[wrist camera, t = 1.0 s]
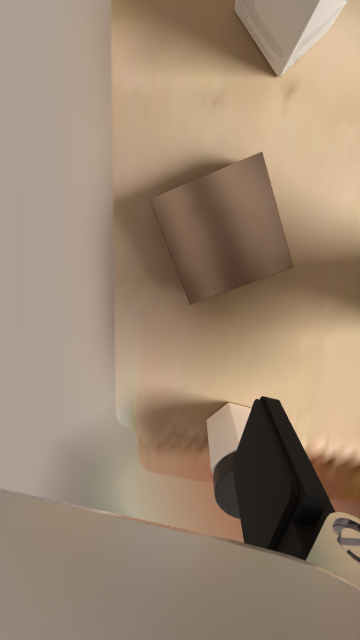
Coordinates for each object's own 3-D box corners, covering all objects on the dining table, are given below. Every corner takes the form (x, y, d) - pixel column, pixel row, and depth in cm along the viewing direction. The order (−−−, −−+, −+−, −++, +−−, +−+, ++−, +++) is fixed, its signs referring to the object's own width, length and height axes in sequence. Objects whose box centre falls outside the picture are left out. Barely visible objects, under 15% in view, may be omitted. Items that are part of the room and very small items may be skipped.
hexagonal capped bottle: (198, 440, 46) (202, 511, 34) (214, 396, 43) (223, 457, 32) (252, 454, 46) (274, 528, 35) (271, 411, 44) (300, 476, 32)
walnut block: (249, 164, 34) (262, 151, 28) (276, 261, 37) (293, 267, 32) (155, 203, 36) (149, 198, 30) (189, 293, 39) (189, 304, 33)
